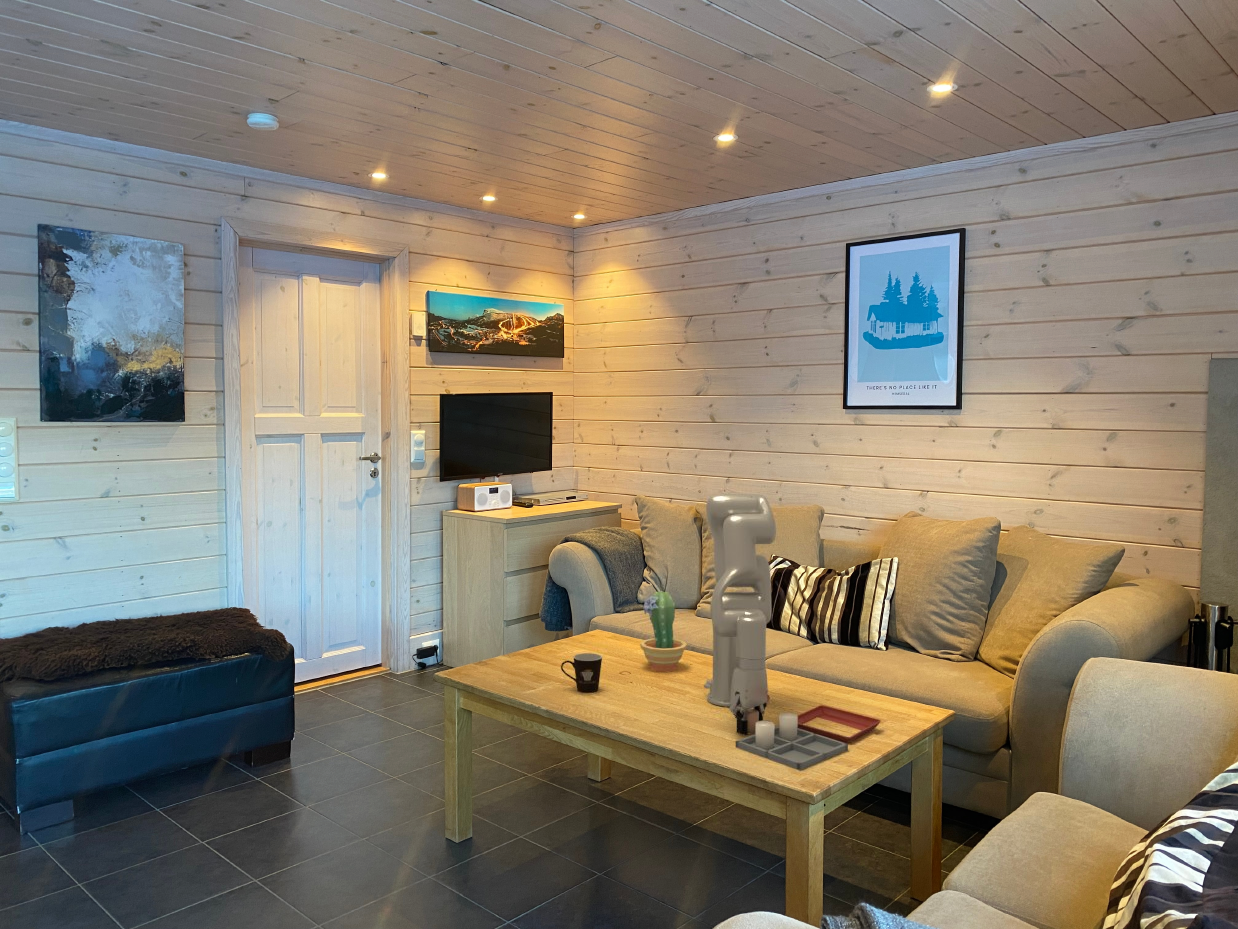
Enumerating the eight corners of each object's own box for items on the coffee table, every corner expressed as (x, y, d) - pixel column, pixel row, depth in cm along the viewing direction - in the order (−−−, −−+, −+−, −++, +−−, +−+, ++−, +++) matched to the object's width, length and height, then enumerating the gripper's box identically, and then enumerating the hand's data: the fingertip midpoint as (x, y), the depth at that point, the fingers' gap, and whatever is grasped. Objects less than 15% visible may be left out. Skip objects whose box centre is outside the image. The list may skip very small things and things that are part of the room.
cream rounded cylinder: (775, 738, 232) (775, 715, 231) (786, 734, 235) (786, 711, 235) (789, 743, 228) (790, 720, 228) (800, 739, 231) (801, 716, 231)
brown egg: (736, 733, 238) (737, 711, 237) (748, 729, 241) (748, 707, 240) (750, 738, 234) (751, 715, 234) (762, 734, 237) (762, 711, 237)
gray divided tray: (735, 750, 226) (735, 741, 226) (784, 732, 239) (784, 723, 239) (799, 773, 211) (799, 763, 211) (847, 753, 224) (847, 744, 224)
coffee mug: (606, 687, 277) (606, 655, 276) (594, 695, 269) (594, 662, 268) (572, 682, 282) (572, 650, 281) (559, 690, 274) (559, 657, 273)
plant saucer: (882, 731, 241) (882, 719, 241) (849, 750, 228) (849, 736, 228) (820, 716, 253) (821, 704, 253) (786, 732, 240) (786, 720, 240)
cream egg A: (751, 747, 226) (751, 723, 225) (763, 743, 229) (763, 719, 228) (766, 752, 222) (766, 728, 222) (777, 748, 225) (778, 724, 225)
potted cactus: (640, 661, 307) (640, 587, 306) (686, 661, 307) (687, 588, 305) (639, 674, 292) (640, 596, 291) (687, 674, 291) (688, 597, 290)
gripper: (760, 654, 245) (759, 721, 246) (717, 665, 234) (716, 735, 235) (782, 660, 240) (781, 728, 240) (740, 672, 228) (739, 743, 229)
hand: (749, 731), depth 238 cm, fingers open, 5 cm apart
